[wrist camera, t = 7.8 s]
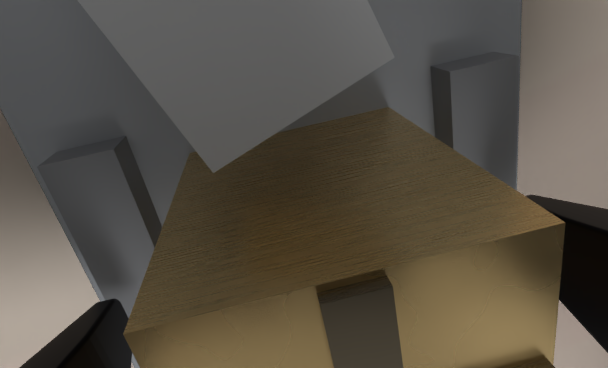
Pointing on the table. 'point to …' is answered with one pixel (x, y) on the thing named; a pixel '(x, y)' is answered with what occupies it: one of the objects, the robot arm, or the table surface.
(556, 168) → the table surface
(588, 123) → the table surface
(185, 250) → the gold square block
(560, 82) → the table surface
